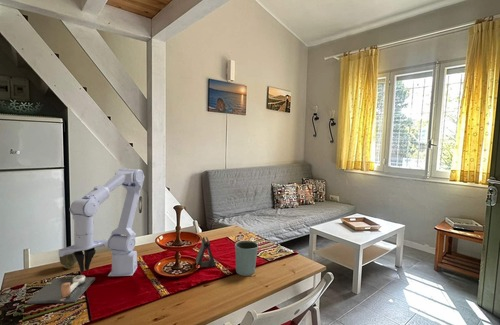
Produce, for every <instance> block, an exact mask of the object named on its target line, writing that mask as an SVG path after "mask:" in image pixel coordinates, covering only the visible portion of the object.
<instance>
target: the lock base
mask: <svg viewBox="0 0 500 325" xmlns="http://www.w3.org/2000/svg"><path fill="white" fill-rule="evenodd" d="M73 278H74V277H62V278H59V277H58V278H57V277H55V278H53V279H51V281H49V282H46V283H45V285H44V286H43V287H42V288H41V289H40V290H39V291H37V292H36V293H35V294H34V295H32V296H31V297H30V298H29V299H28V300H27V301H26V304H27V305H36V304H39V305H40V304H57V303H60V304H61V303H76V302H77V301H78V300H79V299H80V298H81V296H82V295H83V294H84V293H85V292H86V291H87V290H88V288H89V287H90V286H91V285H92V284H93V283H94V281H96V277H93V276H92V277H90V276H89V277H86V276H85V282H84V283H82V284H79V285H78V286H77V287H76V288H75V289H74V290H73V291H72V292H71V294H70V295H69V296H67V297H62V296H61V285H62V284H64V283H68V282H69V283H70V286H71V285H72V284H73Z"/></svg>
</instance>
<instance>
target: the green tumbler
mask: <svg viewBox="0 0 500 325" xmlns="http://www.w3.org/2000/svg"><path fill="white" fill-rule="evenodd" d="M234 248H235V272H236V274H238V275H240V276H252V275H254V274H255V272H256V266H257V265H256V263H257V256H258V249H259V244H258V243H257V242H254V241H251V240H241V241H240V240H239V241H237V242H235V244H234Z"/></svg>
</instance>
